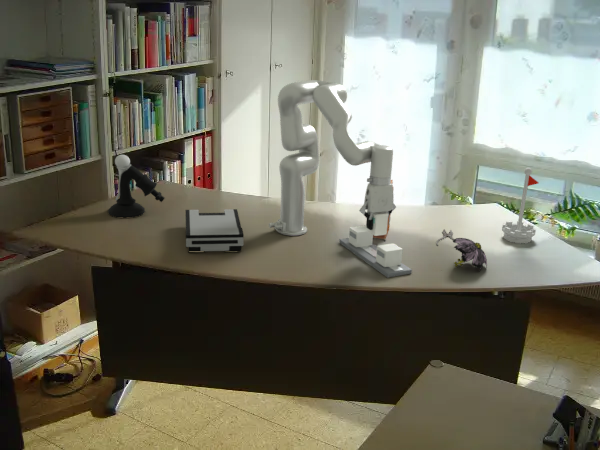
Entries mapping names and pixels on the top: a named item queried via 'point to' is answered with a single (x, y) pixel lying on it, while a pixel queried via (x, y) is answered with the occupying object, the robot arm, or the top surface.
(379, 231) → the block
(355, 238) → the module left
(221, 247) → the game console
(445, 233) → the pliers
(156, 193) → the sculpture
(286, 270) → the top surface
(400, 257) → the block
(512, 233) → the flag stand
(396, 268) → the din rail
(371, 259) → the rail board
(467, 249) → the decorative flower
